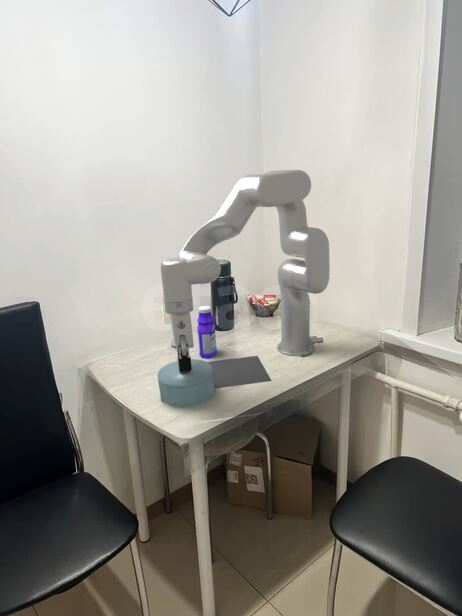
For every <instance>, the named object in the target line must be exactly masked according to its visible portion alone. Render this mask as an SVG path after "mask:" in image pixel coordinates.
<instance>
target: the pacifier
mask: <svg viewBox="0 0 462 616" xmlns="http://www.w3.org/2000/svg"><path fill="white" fill-rule="evenodd" d="M170 342H171V343H170V345H169V348H170V350H173V351H177V349H176V346H175V342H174V338H173V339H171V341H170Z"/></svg>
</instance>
